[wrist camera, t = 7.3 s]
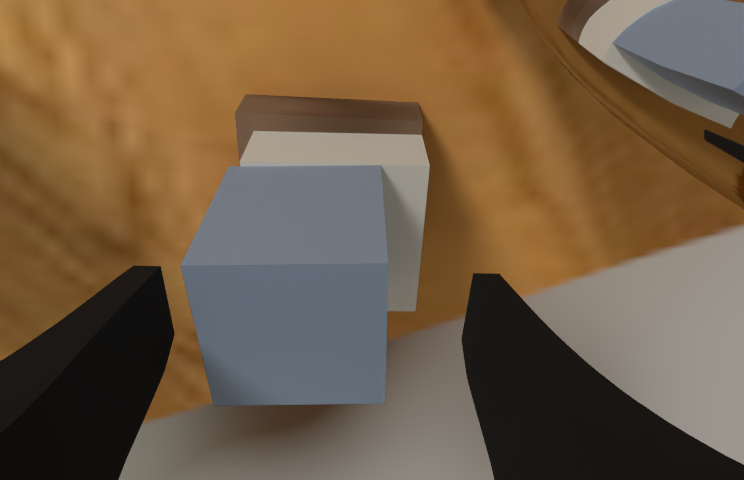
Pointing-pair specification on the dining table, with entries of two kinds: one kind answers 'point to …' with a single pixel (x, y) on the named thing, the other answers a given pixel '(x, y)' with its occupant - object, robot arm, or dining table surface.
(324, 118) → the base slab
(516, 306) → the robot arm
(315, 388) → the blue block
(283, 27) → the dining table surface
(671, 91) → the beer glass
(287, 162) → the mid slab
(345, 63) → the dining table surface
